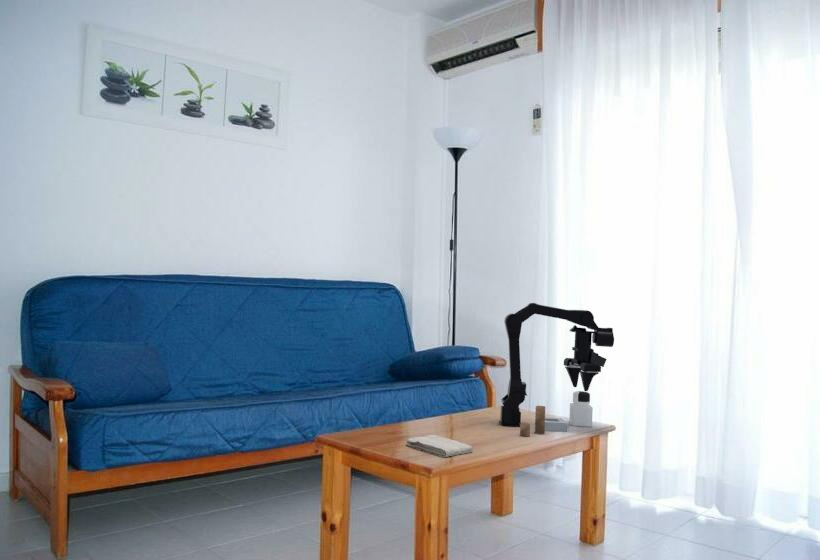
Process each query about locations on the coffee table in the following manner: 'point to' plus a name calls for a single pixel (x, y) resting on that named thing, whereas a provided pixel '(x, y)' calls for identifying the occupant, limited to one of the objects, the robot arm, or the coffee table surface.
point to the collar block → (555, 424)
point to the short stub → (525, 429)
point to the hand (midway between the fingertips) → (580, 389)
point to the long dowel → (540, 420)
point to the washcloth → (439, 445)
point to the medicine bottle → (581, 410)
